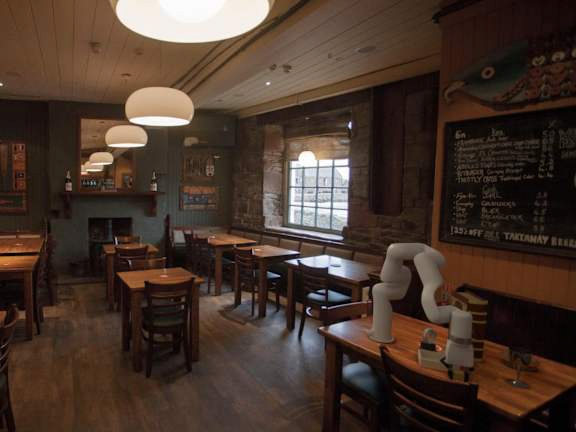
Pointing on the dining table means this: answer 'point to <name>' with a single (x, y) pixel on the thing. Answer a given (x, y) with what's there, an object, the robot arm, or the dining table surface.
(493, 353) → the dining table surface
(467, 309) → the decorative book
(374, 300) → the robot arm
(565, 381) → the dining table surface
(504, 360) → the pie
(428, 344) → the grey black upright piece
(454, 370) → the paperweight
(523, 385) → the wine glass
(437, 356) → the book
